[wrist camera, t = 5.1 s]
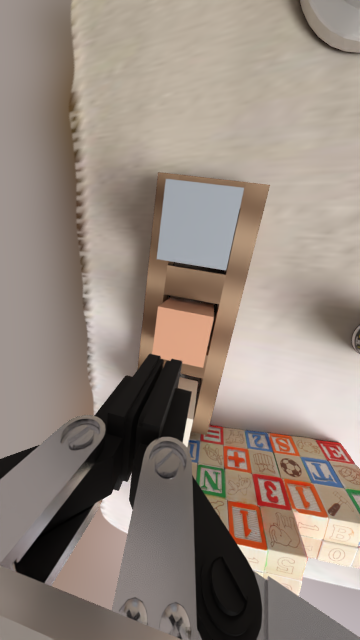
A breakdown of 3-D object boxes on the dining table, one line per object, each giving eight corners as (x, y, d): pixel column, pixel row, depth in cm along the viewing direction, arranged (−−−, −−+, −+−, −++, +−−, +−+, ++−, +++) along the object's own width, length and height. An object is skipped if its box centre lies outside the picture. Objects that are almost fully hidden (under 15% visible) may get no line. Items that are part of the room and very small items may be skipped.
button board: (165, 185, 21) (156, 170, 17) (261, 196, 19) (271, 183, 16) (140, 401, 29) (131, 418, 25) (207, 418, 28) (206, 438, 24)
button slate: (180, 206, 18) (165, 178, 12) (233, 213, 18) (244, 187, 12) (172, 260, 20) (156, 258, 14) (222, 269, 19) (226, 270, 13)
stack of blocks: (340, 440, 25) (450, 589, 14) (330, 475, 27) (420, 635, 15) (180, 420, 29) (158, 526, 17) (180, 452, 30) (160, 570, 19)
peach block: (171, 296, 23) (158, 306, 17) (213, 304, 22) (214, 317, 17) (165, 335, 24) (151, 356, 19) (205, 343, 24) (202, 367, 18)
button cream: (157, 371, 23) (139, 405, 18) (198, 381, 23) (193, 419, 17) (152, 405, 25) (135, 447, 19) (190, 415, 24) (184, 460, 19)
